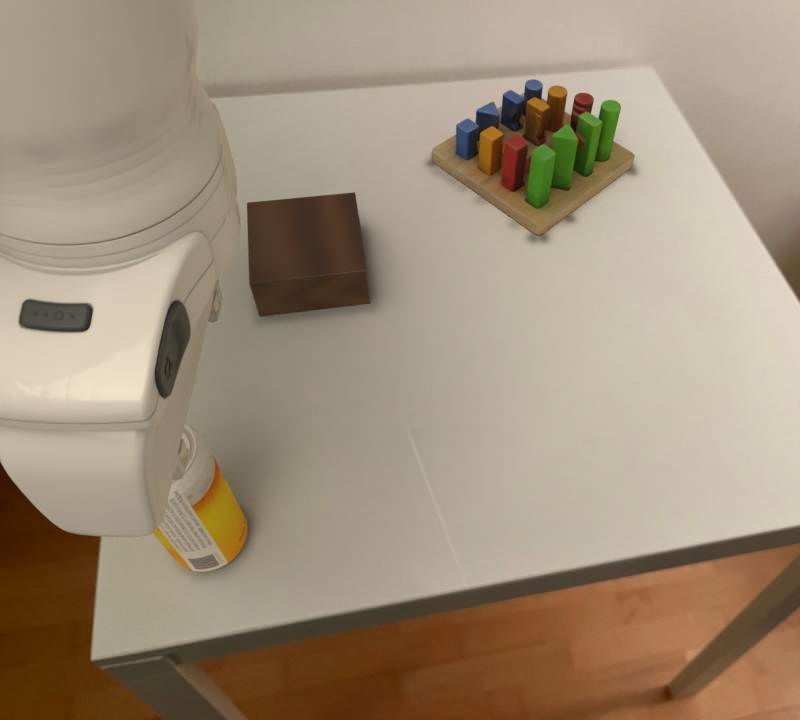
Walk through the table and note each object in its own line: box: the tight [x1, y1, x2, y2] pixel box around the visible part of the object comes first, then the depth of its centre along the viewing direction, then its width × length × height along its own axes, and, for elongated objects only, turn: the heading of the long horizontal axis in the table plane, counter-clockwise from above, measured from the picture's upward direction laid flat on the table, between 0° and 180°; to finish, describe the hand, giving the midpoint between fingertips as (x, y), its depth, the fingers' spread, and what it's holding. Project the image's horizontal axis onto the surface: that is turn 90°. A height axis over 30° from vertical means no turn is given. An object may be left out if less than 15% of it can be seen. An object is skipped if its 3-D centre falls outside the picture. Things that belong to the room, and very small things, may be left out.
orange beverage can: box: [152, 422, 249, 573], centre depth 54 cm, size 6×6×15 cm
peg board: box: [431, 78, 635, 236], centre depth 85 cm, size 18×17×9 cm
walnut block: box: [246, 192, 371, 317], centre depth 75 cm, size 11×11×5 cm
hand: (188, 383), depth 39 cm, fingers open, 8 cm apart
